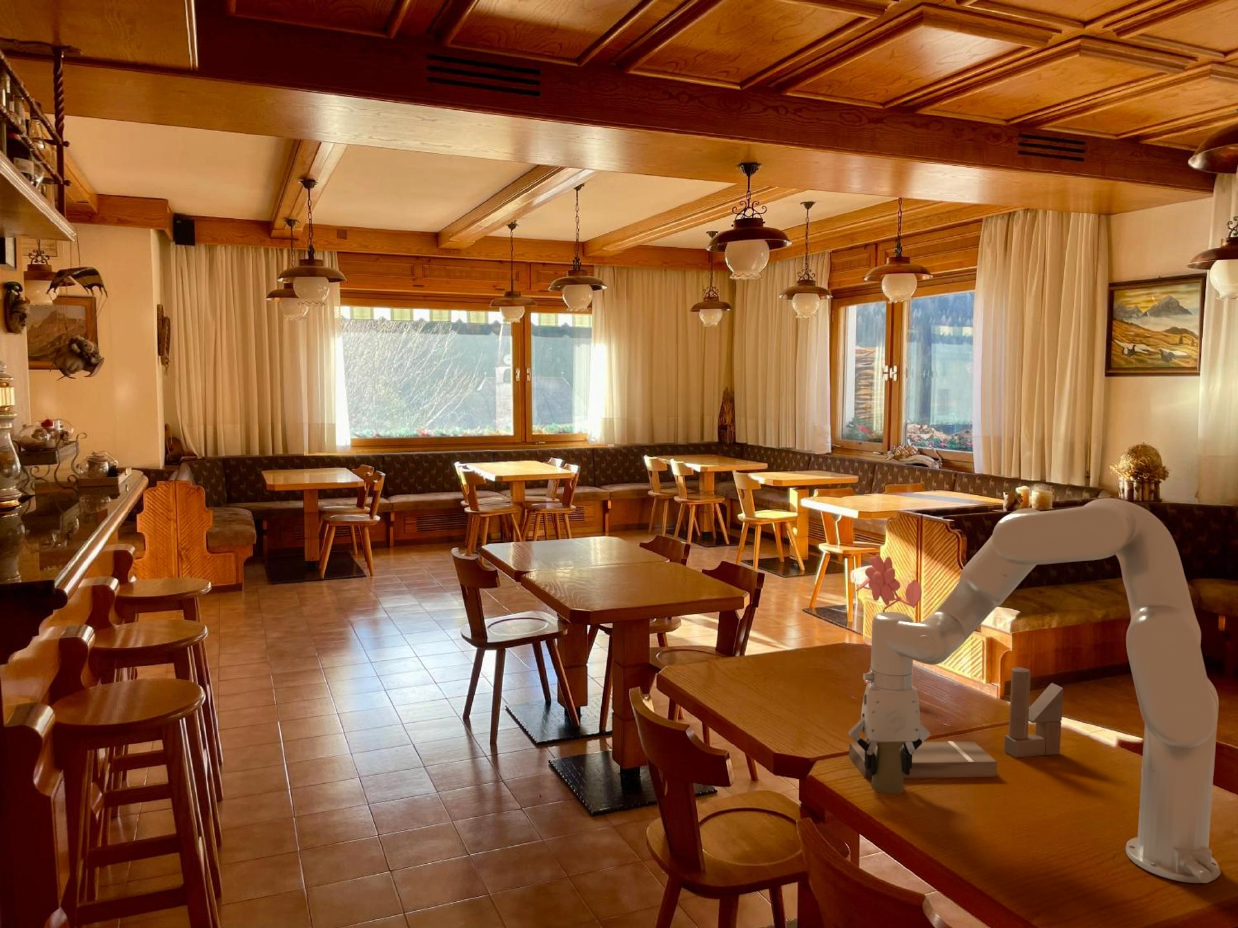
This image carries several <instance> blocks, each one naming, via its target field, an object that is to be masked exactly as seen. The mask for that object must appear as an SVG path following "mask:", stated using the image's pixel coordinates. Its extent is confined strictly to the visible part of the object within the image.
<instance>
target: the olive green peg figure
mask: <svg viewBox="0 0 1238 928" xmlns="http://www.w3.org/2000/svg"><path fill="white" fill-rule="evenodd" d="M902 746H903V742H878V743H877V753H876V774H875V775H873V776H872V778H871V782H870V787H871V789H873V790H875V792H879V793H881V794H886V795H899V794H901V792H902V793H903V792H904V789H905V786H904V778H903V775H902V765H901V755H900V749H901V748H902Z"/></svg>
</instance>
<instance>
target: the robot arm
mask: <svg viewBox="0 0 1238 928" xmlns="http://www.w3.org/2000/svg"><path fill="white" fill-rule="evenodd" d="M1179 553H1180V552H1179V550H1178V547H1177V545H1176V542H1175V539H1173V536H1172V534H1171V532H1170V531H1169V530H1168V528H1167V527H1166V526H1165V524H1164V523H1163V522H1162V520H1161V519H1159V518H1158V517H1156V515H1155V514H1153V513H1152V512H1151V511H1149V510H1148V509H1146V508H1144V507H1143V506H1140V505H1138V504H1135V503H1133V502H1130V501H1127V500H1123V499H1119V498H1114V497H1113V498H1111V497H1104V498H1103V497H1102V498H1098V499H1094V500H1092V501H1091V500H1090V501H1089V502H1087V503H1086V504H1084V505H1083V506H1077V507H1071V508H1070V507H1069V508H1062V509H1054V510H1047V511H1040V510H1038V509H1035V508H1029V507H1028V508H1020V509H1017V510H1014V511H1012V512H1011V513H1009V514H1006V515H1005V516H1004V517H1002V518H1001V519H1000V520H998V522H997V523H996V525H995V526H994V529H993V530H992V535H990V537H989V538H988V540H987V541H986V542H985V543H984V544H983V546H982V547H981V548H980V549H979V550H978V551H977V552H976V553H975V554H973V556H972V557H971V559H970V560H969V561H968V562H967V563H966V564H965V566H964V567H963V568H962V570H961V572H960V575H959V576H960V577H959V581H958V582H957V584H956V586H955V587H954V588H953V590H951V592H950V593H949V594H948V596H947V597H946V598H945V599H944V600H943V602H941V604H940V605H939V606H938V607H937V608H936V610H935V611H933V613H932V614H931V615H930V616H928V617H926V619H924V620H921V621H918V622H914V619H913V618H912V617H911V616H909V615H908V614H905V613H901V612H895V611H885V612H883V611H882V612H879V613H877V614H875V615H874V617H872V623H871V645H870V646H871V647H870V649H871V650H870V655H871V656H870V667H869V671H868V672H866V673H864V672H863V673H862V680H863V681H865V680H868V681H869V682H870V683H868V684H866V686H865V691H864V694H863V699H862V700H863V701H862V704H861V705H862V707H861V714H860V719H859V720H858V721H857V722H856V723H855V724H854V726H852V727H851V728H850V729H849V731H848V735H849V736H850V738H851V739H853V741H855V743H858V744H859V745H860V746H861V747H862V748H863V749H864V750H865V761H864V765H865V768H866V769H867V770H868V772H869V773H870V774H871V775H875V774H876V755H875V754H874V750H875V748H876V745H877V743H878V742H903V746H904V747H903V748H901V753H900V755H901V765H902V771H903V772H904V773H905V774H906V775H910V769H911V768H912V754H914V753H915V750H916V749H917V748H918V747H919V746H920V745H921V744H922V742H926V740H927V739H928V738H929V737H930V736H931V733H930V731H929V730H927V728H926V727H925V725H924V724H922V722H921V718H920V717H921V713H920V712H921V711H920V704H919V703H920V702H919V697H918V696H919V694H918V690H917V687H915V686H914V685H913V672H914V671H913V669H914V661H915V662H919V663H921V664H924V665H930V666H932V665H940V664H942V663H943V662H945V661H946V660H948V658H950V657H951V656H952V655H953V654H954V653H955V652H956V651H958V650H959V649H960V648H961V646H963V645H964V643H965V642H966V641H967V640H968V639H969V638H970V637H971V635H972V634H974V632H975V631H976V630H977V629H978V628H979V627H980V626H981V625H982V624H983V622H984V621H985V620H986V619H987V618H988V616H989V615H991V613H992V612H993V611H994V610H995V609H996V608H998V607H999V606H1001V605H1002V604H1003V603H1004V602H1005V600H1006V599H1007V598H1008V597H1009V596H1010V595H1011V594H1012V593H1013V591H1014V590H1016V588H1017V587H1018V586H1019V585H1020V584H1021V582H1022V581H1023V580H1024V579H1025V578H1026V577H1027V576H1028V574H1029V573H1030V572H1032V571H1033V569H1034V568H1035V567H1036V566H1037V565H1050V564H1060V563H1061V564H1062V563H1071V562H1073V563H1074V562H1083V561H1084V562H1085V561H1095V560H1103V559H1107V558H1110V557H1113V556H1116V557H1117V560H1118V563H1119V565H1120V570H1121V576H1122V581H1123V582H1122V583H1123V585H1124V588H1125V592H1126V596H1127V597H1126V598H1127V602H1128V606H1129V612H1130V622H1129V625H1128V628H1127V631H1126V636H1125V645H1126V653H1127V659H1128V661H1129V666H1130V671H1131V675H1132V680H1133V683H1134V688H1135V689H1134V690H1135V693H1136V697H1137V702H1138V705H1139V706H1138V707H1139V711H1140V714H1141V717H1142V721H1143V723H1144V732H1143V733H1144V735H1143V746H1142V760H1141V762H1142V763H1141V776H1140V777H1141V778H1140V793H1139V794H1140V795H1139V811H1138V812H1139V813H1138V814H1139V815H1138V825H1137V826H1138V830H1137V836H1136V837H1133V838H1130V839H1129V840H1127V842H1126V844H1125V852H1126V855H1127V856H1128V858H1129V859H1130V860H1131V861H1132V862H1133V863H1134V864H1135V865H1137V866H1139V867H1140V868H1141V869H1142V870H1145V871H1147V872H1149V873H1151V874H1154V875H1156V876H1159V877H1162V878H1165V879H1169V880H1172V881H1177V882H1181V883H1182V882H1183V883H1188V884H1189V883H1191V884H1192V883H1193V884H1208V883H1210V882H1212V881H1214V880H1216V879H1217V878H1218V877H1219V876H1220V875H1221V873H1222V871H1221V869H1220V865H1219V863H1218V861H1216V859H1215V858H1213V857H1212V854H1213V850H1212V849H1210V848H1209V846H1210V845H1209V844H1210V831H1211V830H1210V829H1211V815H1212V814H1211V812H1212V803H1213V802H1212V799H1213V785H1214V772H1215V760H1216V759H1215V758H1216V743H1217V732H1218V731H1217V729H1218V718H1219V707H1220V705H1219V704H1220V703H1219V695H1218V692H1217V690H1216V687H1215V686H1214V684H1213V683H1212V682H1211V680H1210V679H1209V677H1208V675H1207V671H1206V666H1205V662H1204V657H1203V653H1202V648H1201V644H1202V643H1201V642H1202V641H1201V640H1202V630H1201V628H1200V624H1199V622H1198V620H1197V619H1198V618H1197V616H1196V613H1195V610H1194V606H1193V602H1192V598H1191V593H1190V590H1189V585H1188V582H1187V579H1186V575H1185V572H1184V567H1183V564H1182V560H1181V556H1180V554H1179ZM861 733H863V734H864V735H865V739H863V738H862V736H860V734H861Z"/></svg>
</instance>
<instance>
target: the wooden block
mask: <svg viewBox="0 0 1238 928" xmlns="http://www.w3.org/2000/svg"><path fill="white" fill-rule="evenodd" d="M1010 674H1011V679H1010V681H1011V682H1010V694H1009V695H1010V696H1009V697H1010V700H1009V701H1010V702H1009V717H1008V718H1009V719H1008V723H1009V724H1008V734H1005V735H1004V745H1003V746H1004V747H1003V750H1004V752H1005V753H1006V754H1008V755H1010V756H1011V757H1013V758H1027V757H1038V756H1051V755H1052V756H1053V755H1059V754H1060V753H1061V737H1062V736H1061V734H1062V721H1063V706H1064V705H1063V704H1064V687H1061V685H1060V686H1059V685H1057V684H1055V683H1054V682H1051V683H1050V684H1049V685H1048V686H1047V687H1046V688H1045V689H1044V691H1043V692H1042V693H1041V694H1040V695H1039V696H1038V698H1036V700H1035V701H1034V702H1033V703H1032V704H1031V705H1030V697H1031V695H1030V694H1031V693H1030V692H1031V676H1032V674H1031V670H1030V669H1028V668H1025V667H1019V666H1018V667H1012V668H1011V673H1010ZM1029 723H1031V724H1035V733H1034V734H1032V733H1029Z"/></svg>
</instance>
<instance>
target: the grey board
mask: <svg viewBox="0 0 1238 928" xmlns="http://www.w3.org/2000/svg"><path fill="white" fill-rule="evenodd" d="M848 746H849V748H848V749H849V750H848V754H849V755H848V758H849V759H850V760H851V762H852V764H854V765H855V767H856V768H857V769H858V771H859V773H860V774H861V775H862V776H863V777H864V778H865V779H872V776H873V775H871V774H870V773H869V772H868V770H867V769H866V768H865V765H864V761H865V750H864V749H863V748H862V747H861V746H860V745H859V744H858V743H857V742H849V745H848ZM903 747H904V746H902V748H903ZM876 753H877V745H876V748H875V750H874V754H875V755H876ZM900 753H901V749H900ZM997 763H998V762H997V761H996V759H994V758H993V757H992V756H991V755H989V753H987V752H986V751H985V750H984V749H983V748H982V747H981V746H980V745H978V744H977V743H976V742H975V741H952V740H947V741H923V742H922V744H921V745H920V746H919V747H918V748H917V749H916V750H915V753H914V754H912V768H911V769H910V775H906V774H905V773H904V772H903V771H902V775H903V779H906V778H907V779H914V778H915V779H916V778H918V779H919V778H920V779H921V778H922V779H925V778H993V777H997V766H998V764H997Z"/></svg>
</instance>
